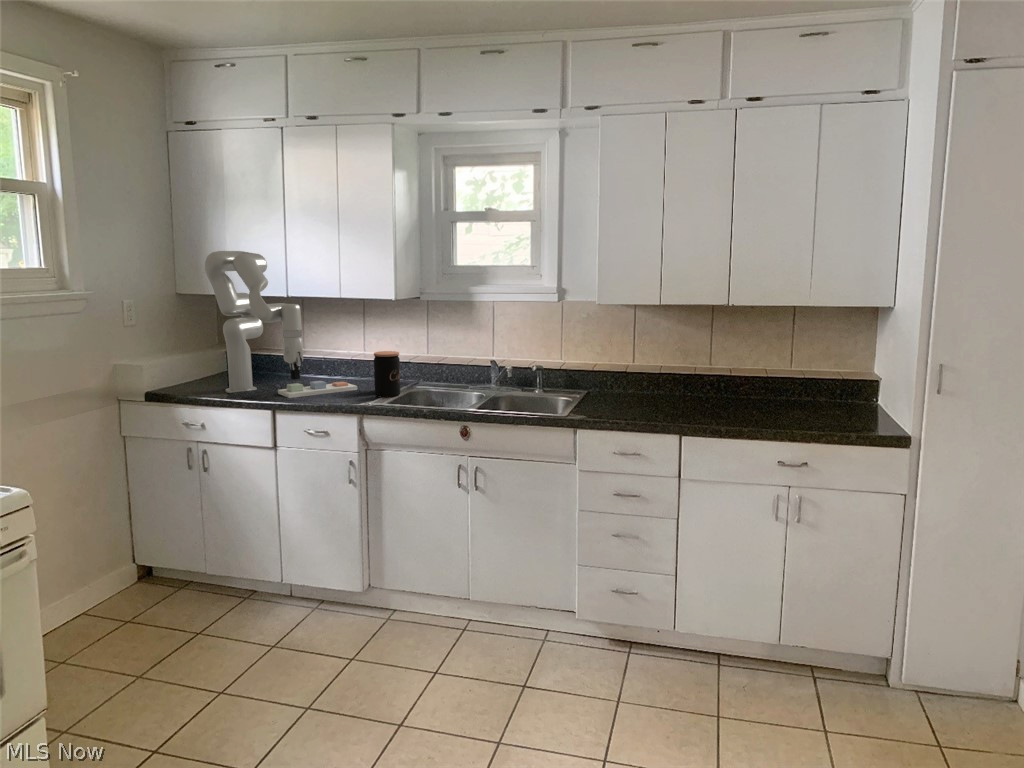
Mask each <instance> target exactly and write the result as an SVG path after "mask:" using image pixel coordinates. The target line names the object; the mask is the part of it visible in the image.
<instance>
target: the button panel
mask: <svg viewBox="0 0 1024 768" xmlns="http://www.w3.org/2000/svg"><path fill="white" fill-rule="evenodd" d="M347 383H348V386H342V387H335V386H332V383H326V388H324V389H316V390H314V389H311V388H310V385H309V386H303V391H299V392H289V391H287V388H282V389H277V393H278V395H281V396H283V397H285V398H288V399H293V398H299V397H300V398H301V397H309V396H316V395H323V394H332V393H333V394H334V393H340V392H341V393H342V392H350V391H357V390H358V385H356V384H351V383H349V382H347Z"/></svg>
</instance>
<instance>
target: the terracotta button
mask: <svg viewBox="0 0 1024 768" xmlns="http://www.w3.org/2000/svg"><path fill="white" fill-rule="evenodd" d="M348 383H349V382H346V381H336V382H332V383H331V384H332V386H335V387H342V386H348Z"/></svg>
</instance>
